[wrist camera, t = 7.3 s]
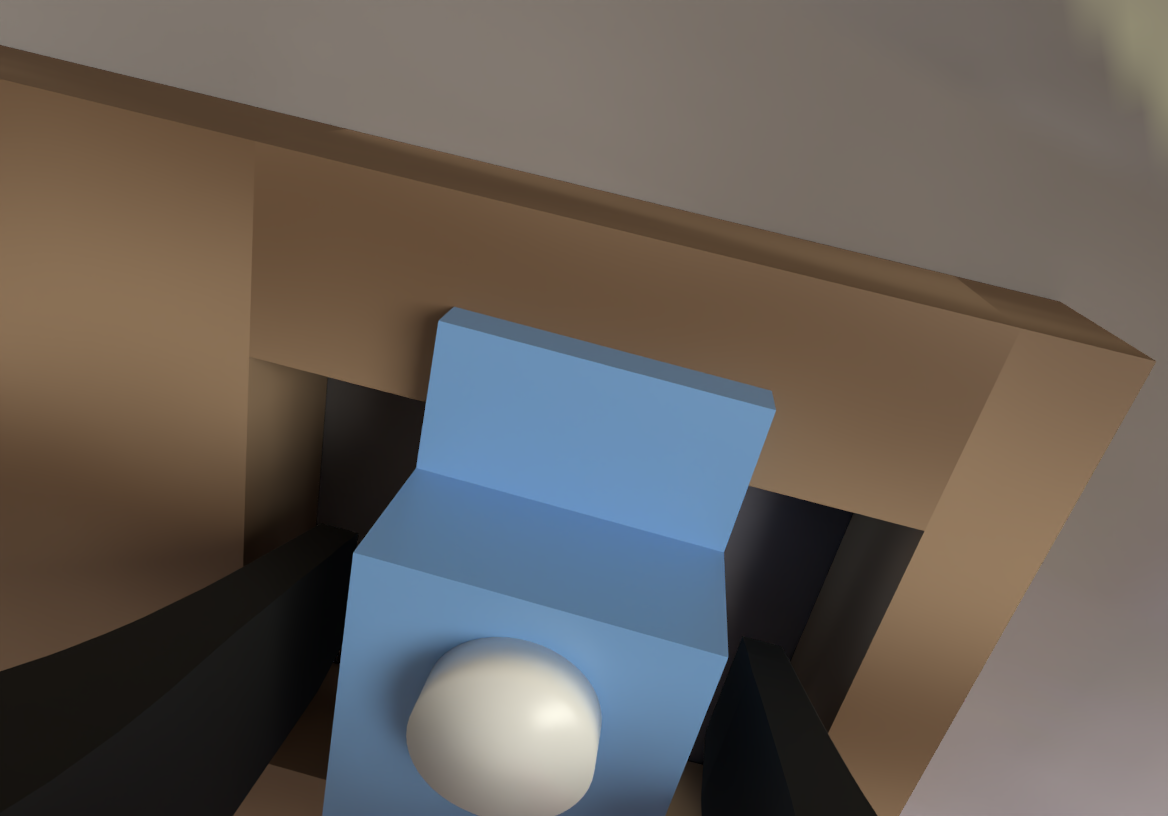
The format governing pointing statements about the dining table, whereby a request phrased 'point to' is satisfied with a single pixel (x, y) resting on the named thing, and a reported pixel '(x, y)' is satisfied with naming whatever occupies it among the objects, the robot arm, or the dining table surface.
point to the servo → (543, 583)
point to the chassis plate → (403, 365)
